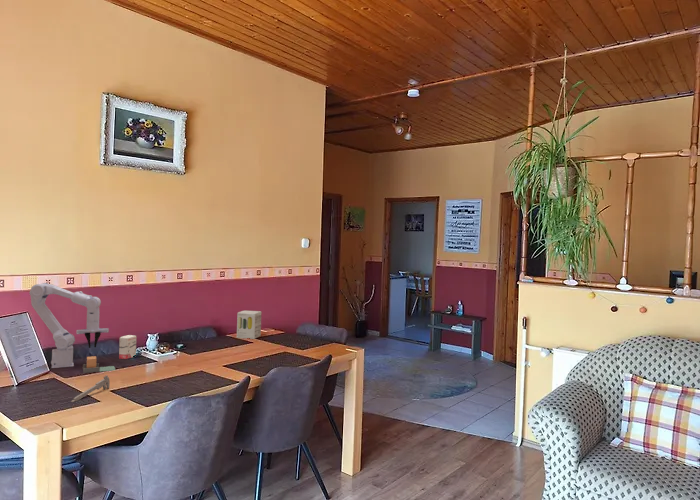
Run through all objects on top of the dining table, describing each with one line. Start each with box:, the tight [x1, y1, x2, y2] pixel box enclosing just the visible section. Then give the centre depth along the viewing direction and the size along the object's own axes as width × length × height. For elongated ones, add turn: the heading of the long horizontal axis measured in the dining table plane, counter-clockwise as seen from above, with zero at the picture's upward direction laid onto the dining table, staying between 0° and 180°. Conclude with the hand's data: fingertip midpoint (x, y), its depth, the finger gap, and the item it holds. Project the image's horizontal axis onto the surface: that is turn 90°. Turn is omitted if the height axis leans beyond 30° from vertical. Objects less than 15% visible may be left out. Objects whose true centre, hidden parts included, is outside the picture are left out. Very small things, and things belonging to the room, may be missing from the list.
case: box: [82, 362, 101, 374], centre depth 244 cm, size 7×15×2 cm, turn 30°
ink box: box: [118, 334, 137, 360], centre depth 270 cm, size 9×5×12 cm, turn 168°
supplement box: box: [236, 310, 263, 340], centre depth 342 cm, size 13×13×18 cm
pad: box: [99, 365, 116, 372], centre depth 245 cm, size 7×9×1 cm
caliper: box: [70, 374, 110, 403], centre depth 205 cm, size 20×1×6 cm, turn 167°
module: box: [86, 355, 97, 368], centre depth 241 cm, size 4×6×6 cm, turn 30°
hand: (92, 347), depth 251 cm, fingers closed
